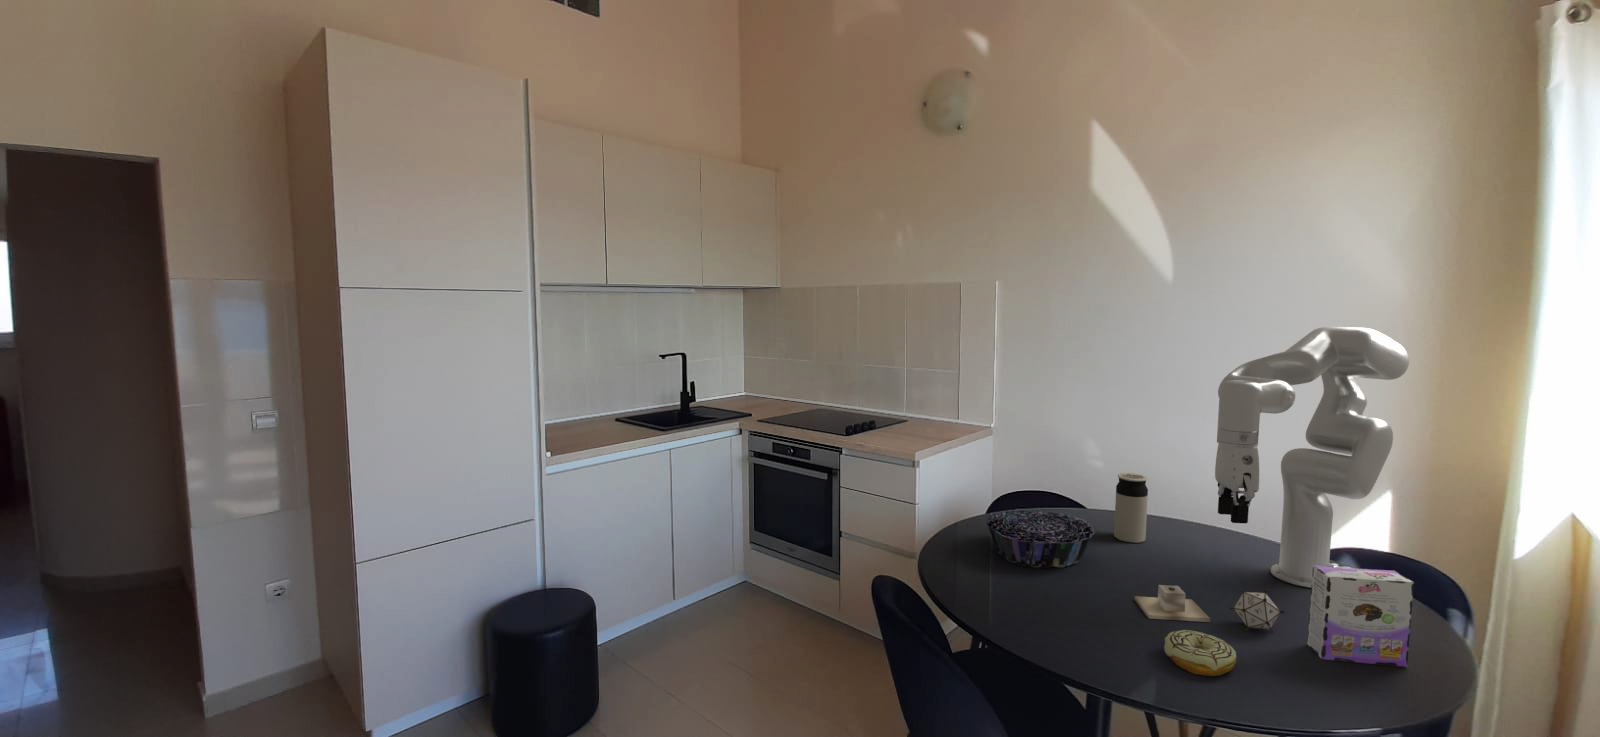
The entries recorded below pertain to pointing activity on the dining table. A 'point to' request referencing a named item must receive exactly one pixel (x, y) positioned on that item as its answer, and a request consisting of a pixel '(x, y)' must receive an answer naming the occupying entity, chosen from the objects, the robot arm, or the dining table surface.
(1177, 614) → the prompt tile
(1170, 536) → the dining table surface
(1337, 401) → the robot arm
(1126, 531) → the travel mug
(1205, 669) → the decorated donut
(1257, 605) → the game die
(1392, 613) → the candy box
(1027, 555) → the decorative bowl
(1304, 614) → the dining table surface
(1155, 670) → the dining table surface
